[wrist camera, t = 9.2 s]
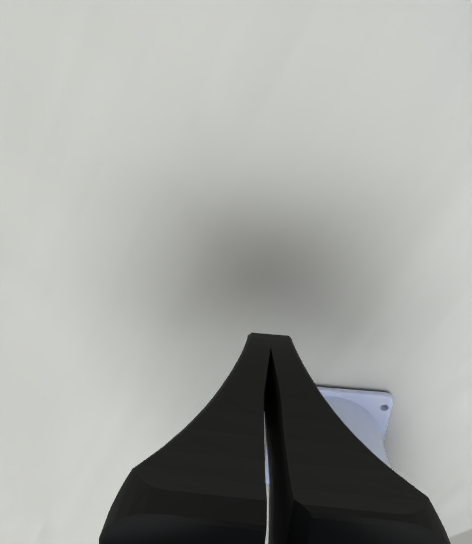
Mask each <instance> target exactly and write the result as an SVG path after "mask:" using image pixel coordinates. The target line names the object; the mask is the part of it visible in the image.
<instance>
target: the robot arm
mask: <svg viewBox="0 0 472 544" xmlns="http://www.w3.org/2000/svg"><path fill="white" fill-rule="evenodd" d="M382 405H386V406H384V407H382ZM392 406H393V397H392V396H391V394H389V393H386V392H375V391H363V390H350V389H338V388H325V387H317V386H316V385H315V383H314V382H313V380H312V379H311V377H310V375H309V373H308V372H307V370H306V368H305V367H304V365H303V363H302V361H301V359H300V357H299V355H298V353H297V351H296V349H295V347H294V344H293V342H292V339H291V338H290V337H289V336H284V335H272V334H260V333H251V334H249V335H248V338H247V341H246V344H245V347H244V349H243V351H242V353H241V355H240V357H239V359H238V361H237V363H236V364H235V366H234V368H233V370H232V371H231V373H230V375H229V376H228V377H227V379H226V380H225V382H224V383H223V385H222V386H221V388H220V389H219V390H218V392H217V393H216V394H215V396H214V397H213V398H212V399H211V401H210V402H209V403H208V404H207V405H206V407H205V408H204V409H203V410H202V411H201V412H200V413H199V414H198V415H197V416H196V417H195V418H194V419H193V420H192V421H191V422H190V423H189V424H188V425H187V426H186V427H185V428H184V429H183V430H182V431H181V432H180V433H178V434H177V435H176V436H175V437H174V438H173V439H172V440H170V441H169V442H168V443H167V444H166V445H165V446H163V447H162V448H161V449H160V450H158V451H157V452H155V453H154V454H153V455H151V456H150V457H148V458H147V459H146V460H144V461H143V462H142V463H140V464H139V465H137V466H136V467H134V468H133V469H132V470H131V472H130V473H129V475H128V477H127V478H126V480H125V482H124V483H123V485H122V487H121V489H120V490H119V492H118V494H117V496H116V498H115V500H114V502H113V504H112V506H111V508H110V511H109V513H108V516H107V519H106V521H105V524H104V527H103V529H102V532H101V535H100V537H99V544H265V537H266V526H267V497H266V484H268V485H269V543H268V544H450V541H449V539H448V536H447V533H446V531H445V529H444V527H443V525H442V523H441V521H440V519H439V517H438V515H437V513H436V511H435V509H434V507H433V505H432V503H431V502H430V500H429V498H428V497H427V496H426V495H424V494H423V493H422V492H420V491H419V490H418V489H416V488H415V487H414V486H412V485H411V484H410V483H409V482H407V481H406V480H405V479H403V478H402V477H401V476H399V475H398V474H397V473H395V472H394V471H393V470H392V469H391V467H390V464H389V461H388V458H387V455H386V451H385V448H384V445H383V442H384V438H385V434H386V430H387V426H388V422H389V418H390V414H391V410H392ZM264 414H265V428H266V442H267V447H266V460H265V450H264Z"/></svg>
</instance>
